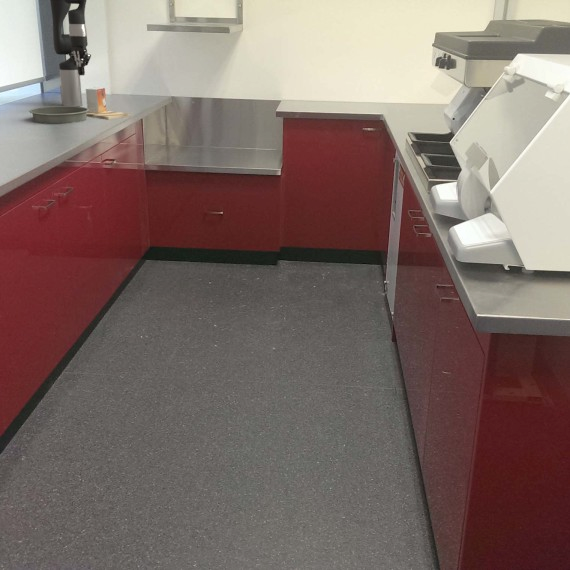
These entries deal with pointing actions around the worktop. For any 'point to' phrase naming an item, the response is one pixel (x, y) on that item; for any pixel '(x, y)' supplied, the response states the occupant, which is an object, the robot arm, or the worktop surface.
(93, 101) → the small box
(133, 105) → the worktop surface
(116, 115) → the maple board
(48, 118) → the cake pan
